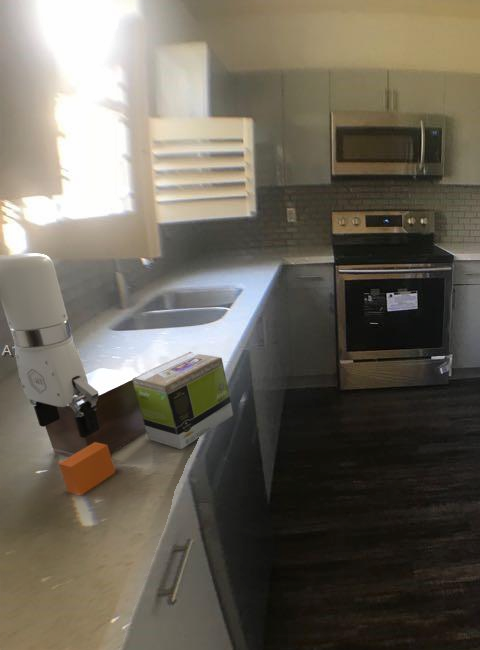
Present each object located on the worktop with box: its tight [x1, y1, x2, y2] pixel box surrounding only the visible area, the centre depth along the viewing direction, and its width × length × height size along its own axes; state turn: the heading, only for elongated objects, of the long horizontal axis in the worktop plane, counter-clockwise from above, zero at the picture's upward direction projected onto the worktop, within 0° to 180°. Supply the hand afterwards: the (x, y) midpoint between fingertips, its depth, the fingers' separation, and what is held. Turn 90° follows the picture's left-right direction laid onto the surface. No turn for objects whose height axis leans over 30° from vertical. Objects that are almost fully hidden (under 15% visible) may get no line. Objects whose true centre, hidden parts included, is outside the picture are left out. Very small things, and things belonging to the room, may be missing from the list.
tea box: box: [132, 351, 234, 450], centre depth 97 cm, size 15×10×15 cm
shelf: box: [44, 367, 147, 458], centre depth 93 cm, size 12×15×13 cm
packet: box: [58, 442, 116, 497], centre depth 82 cm, size 3×7×6 cm, turn 159°
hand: (69, 428), depth 79 cm, fingers open, 9 cm apart
